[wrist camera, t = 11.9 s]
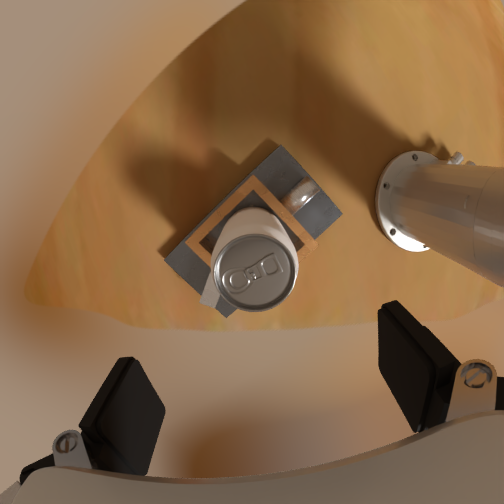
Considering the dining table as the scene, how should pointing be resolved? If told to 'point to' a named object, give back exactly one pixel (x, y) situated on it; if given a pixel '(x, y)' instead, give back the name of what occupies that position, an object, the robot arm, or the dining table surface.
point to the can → (254, 261)
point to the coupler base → (264, 196)
